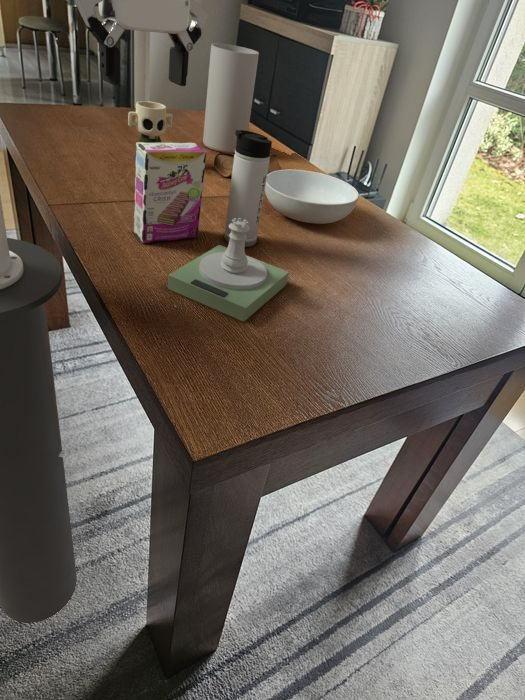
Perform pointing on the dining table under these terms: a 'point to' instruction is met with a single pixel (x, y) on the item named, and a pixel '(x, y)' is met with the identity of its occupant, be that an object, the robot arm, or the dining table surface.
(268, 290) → the kitchen scale
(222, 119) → the cylinder vase
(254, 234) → the travel mug
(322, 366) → the dining table surface
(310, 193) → the serving bowl
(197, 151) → the candy bar box
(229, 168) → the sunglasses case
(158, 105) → the character mug
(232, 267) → the rook chess piece
